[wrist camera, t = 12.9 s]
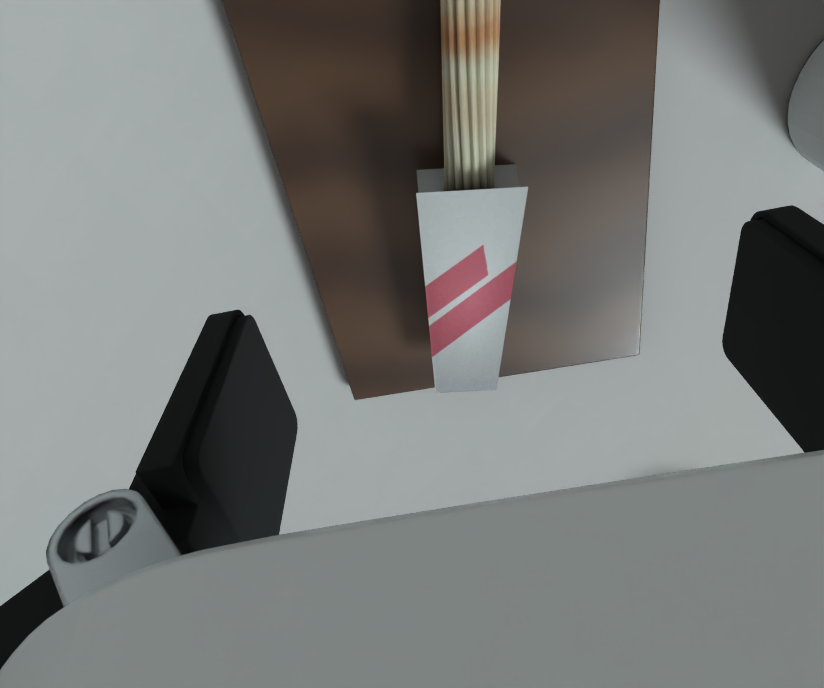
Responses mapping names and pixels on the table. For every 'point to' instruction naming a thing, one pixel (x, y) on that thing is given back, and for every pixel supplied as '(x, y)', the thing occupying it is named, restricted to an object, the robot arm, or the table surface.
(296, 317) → the table surface
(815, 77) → the coffee cup
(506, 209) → the white and tan bar
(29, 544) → the table surface
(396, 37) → the board
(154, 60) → the table surface
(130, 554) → the robot arm
